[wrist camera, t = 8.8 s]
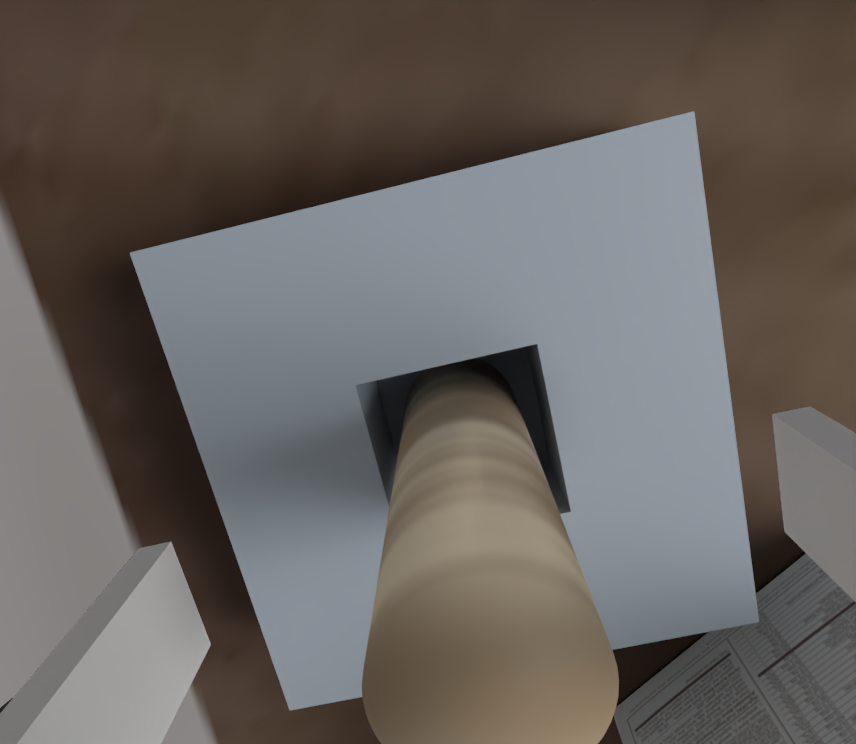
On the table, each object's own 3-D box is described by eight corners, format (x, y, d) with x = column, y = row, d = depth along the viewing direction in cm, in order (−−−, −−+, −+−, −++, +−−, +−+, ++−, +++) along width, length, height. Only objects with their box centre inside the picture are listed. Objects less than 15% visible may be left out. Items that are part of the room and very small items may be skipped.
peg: (394, 370, 23) (331, 607, 10) (503, 345, 23) (595, 553, 9) (420, 470, 24) (396, 812, 11) (525, 448, 24) (637, 769, 10)
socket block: (194, 241, 23) (129, 252, 18) (638, 131, 22) (694, 111, 17) (316, 619, 27) (289, 710, 22) (700, 543, 26) (759, 622, 21)
